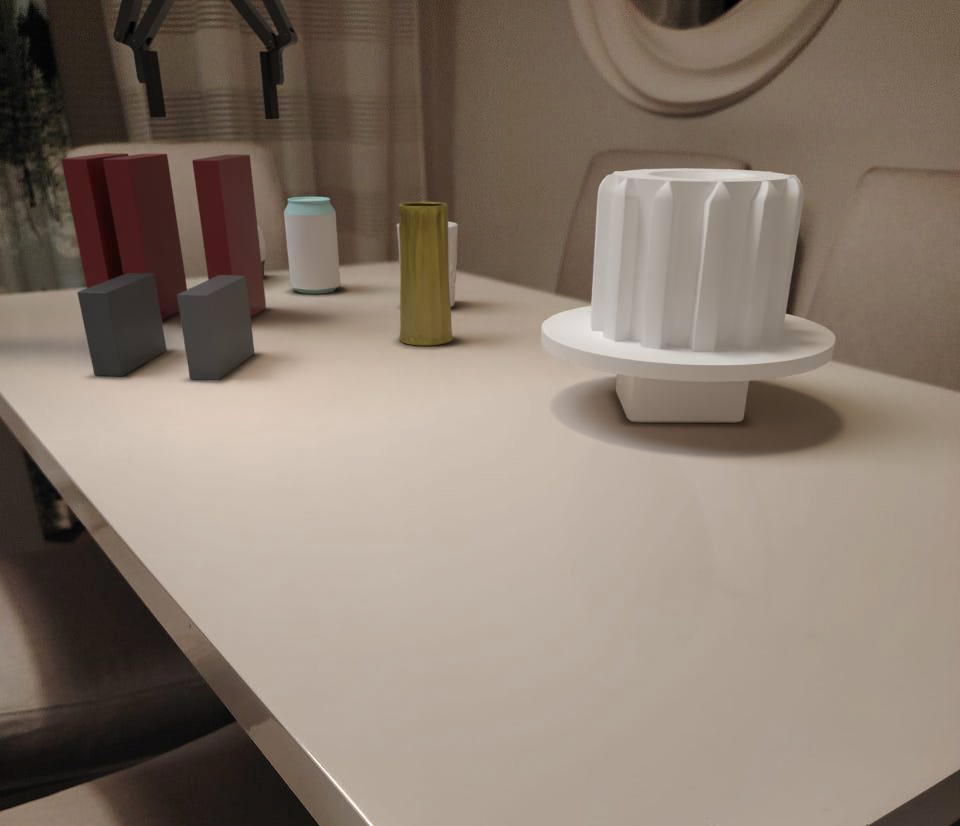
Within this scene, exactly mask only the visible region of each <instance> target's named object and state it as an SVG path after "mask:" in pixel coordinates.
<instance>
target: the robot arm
mask: <svg viewBox="0 0 960 826" xmlns="http://www.w3.org/2000/svg"><path fill="white" fill-rule="evenodd" d="M261 1H262V4H263V5H264V7H265V9H266V11H267V13H268V16H269V17H270V19H271V21H272V23H273V26H274V27H275V30H276V32H277V34H276V32H275V31H274V29H273V28H272V27H271V26H270V24H269V23H268V22H267V21H266V20H265V18H264V17H263V16H262V14H261V13H260V12H259V11H258V9H257V8H256V6H255V5H254V3H252V1H251V0H229V2H230V3H231V4H232V5H233V7H234V8H235V9H236V11H237V12H238V13H239V14H240V16H241V17H242V18H243V20H244V21H245V22H246V23H247V25H248V26H249V27H250V29H251V31H253V33H254V34H255V35H256V36H257V38H258V39H259V40H260V42H261V43H262V44H263V46H265V47H264V49H265V50H266V51H263V50H262V51H259V53H258V54H259V63H260V73H261V84H262V95H263V106H264V116H265V120H280V111H279V99H278V87H277V86H283V85H284V82H285V75H284V73H285V72H284V71H285V70H284V62H283V61H284V60H283V52H284V51H285V49H286V48H289V47H291V46H294V45H296V44H297V43H298V42H299V38H298V34H297V32H296V30H295V28H294V26H293V24H292V22H291V20H290V18H289V15H288V13H287V12H286V10H285V7H284V5H283V3H282V1H281V0H261ZM175 2H176V0H150V2H149V4H148V5H147V7H146V9H145V11H144V13H143V15H142V17H141V19H140V15H141V12H142V8H143V4H144V0H121V1H120V5H119V9H118V14H117V18H116V22H115V26H114V29H113V39H114V40H115V42H117V43H120V44H123V45H125V46H127V47H129V48H130V49H131V50H132V53H133V59H134V65H135V73H136V78H137V81H138V83H139V84H145V91H146V98H147V104H148V110H149V111H148V112H149V117H150V118H167V112H166V105H165V99H164V98H165V97H164V91H163V84H162V76H161V69H160V62H159V55H158V54H159V53H158V51H156V50H153V49H152V47H151V45H152V44H153V42H154V40H155V38H156V36H157V35H158V33H159V31H160V29H161V27H162V26H163V24H164V22H165V20H166V18H167V16H168V15H169V13H170V11H171V9H172V7H173V5H174V3H175ZM139 19H140V21H139Z"/></svg>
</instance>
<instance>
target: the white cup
mask: <svg viewBox="0 0 960 826" xmlns="http://www.w3.org/2000/svg"><path fill="white" fill-rule="evenodd" d="M458 236H459V224H458V223H457V222H453V221H448V260H449V291H450V306H451V308H453V306H455V304H456V287H455V286H456V283H457V267H458V239H459V238H458ZM396 237H397V249H398V259H399V260H398V261H399V264H400V235H399V223H396Z"/></svg>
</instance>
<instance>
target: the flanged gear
mask: <svg viewBox="0 0 960 826" xmlns="http://www.w3.org/2000/svg"><path fill="white" fill-rule="evenodd" d="M804 200H805V191H804V187H803V184H802V182H801V180H800V179H799V178H798V176H797V175H796V174H786V173H781V172H773V171H770V170H769V171H767V170H765V171H763V170H750V169H733V168H727V169H726V168H693V167H692V168H689V167H688V168H687V167H682V168H681V167H680V168H642V169H629V170H622V171H621V170H620V171H619V170H615V171H613V172H612V173H611V174H607V175H606V176H605V177H604V178H603V179H602V180H601V182H600V183H599V186H598V190H597V199H596V216H595V217H596V218H595V232H594V233H595V235H594V250H593V251H594V252H593V267H592V283H591V285H592V287H591V303H590V305H587V306H581V307H576V308H572V309H568V310H564V311H561V312H558V313H556V314H553V315H551V316H549V317H548V318H546V319H545V320H544V321H543V322H542V324H541V333H540V336H541V337H540V343H541V347H542V348H543V349H544V350H545V351H546V352H547V353H549V354H550V355H552V356H554V357H556V358H557V359H560V360H562V361H564V362H566V363H570V364H573V365H575V366H580V367H583V368H586V369H590V370H591V369H592V370H595V371H600V372H604V373H608V374H615V375H616V381H615V382H616V383H615V392H616V395H617V397H618V399H619V402H620V404H621V407H622V409H623V411H624V414H625V417H626V418H627V420H628V421H630V422H631V423H681V424H683V423H685V424H686V423H687V424H688V423H689V424H690V423H695V424H696V423H698V424H699V423H705V424H708V423H709V424H710V423H715V424H719V423H721V424H722V423H723V424H728V423H731V424H734V423H740V422H742V421H743V420H744V418H745V411H746V403H747V396H748V391H749V390H748V389H749V385H750V384H749V383H750V382H751V381H761V380H762V381H763V380H771V379H778V378H786V377H793V376H796V375H801V374H805V373H809V372H812V371H814V370H817V369H820V368H822V367H823V366H826V365H827V364H829V362H830V361H831V360H832V359H833V356H834V349H835V346H836V336H835V334H834V333H833V332H832V330H830V329H828V328H827V327H825V326H824V325H822V324H820V323H817V322H815V321H812V320H809V319H807V318H803V317H800V316H796V315H794V314H793V315H792V314H788V313H787V308H788V301H789V295H790V289H791V282H792V275H793V271H794V265H795V257H796V251H797V244H798V238H799V233H800V228H801V227H800V226H801V219H802V213H803V206H804Z"/></svg>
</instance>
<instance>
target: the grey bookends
mask: <svg viewBox="0 0 960 826" xmlns="http://www.w3.org/2000/svg"><path fill="white" fill-rule="evenodd" d="M77 296H78V303H79V309H80V312H81V317H82V322H83V326H84V331H85V336H86V342H87V347H88V351H89V356H90V361H91V365H92V366H91V367H92V370H93V371H92V372H93V375H94V376H99V377H100V376H101V377H107V376H108V377H124V376H126V375H127V374H129V373H130V372H132V371H134V370H135V369H138V368H140V367H141V366H143V365H144V364H146V363H148V362H149V361H151V360H153V359H154V358H156V357H158V356H160V355H161V354H163V353H165V352H167V343H166V337H165V331H164V325H163V320H162V319H161V312H160V306H159V300H158V294H157V288H156V282H155V276H154V274H146V273H127V274H124V275H121V276H119V277H116V278H113V279H111V280H108V281H105V282H103V283H100V284H97V285H95V286H92V287H89V288H87V287H86V288H84V289H82V290H78V291H77ZM177 298H178V304H179V317H180V324H181V329H182V337H183V342H184V348H185V349H184V351H185V356H186V362H187V369H188V375H189V379H190V380H212V381H213V380H215V381H217V380H218V381H219V380H221V379H222V378H223V377H224V376H226V375H227V374H228V373H230V372H231V371H233V370H234V369H235V368H237V367H238V366H239V365H241V364H242V363H243V362H245V361H246V360H247V359H249V358H250V357H251V356H253V355H254V354H255V353H256V352H255V344H254V336H253V327H252V319H251V318H252V317H251V318H250V309H249V301H248V292H247V284H246V276H234V275H218V276H216V277H214V278H211V279H209V280H208V279H207V280H205V281H203V282H201V283H198V284H196V285H194V286H192V287H190V288H187V290H186V291H184V292H181V293H179V294H177Z"/></svg>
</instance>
